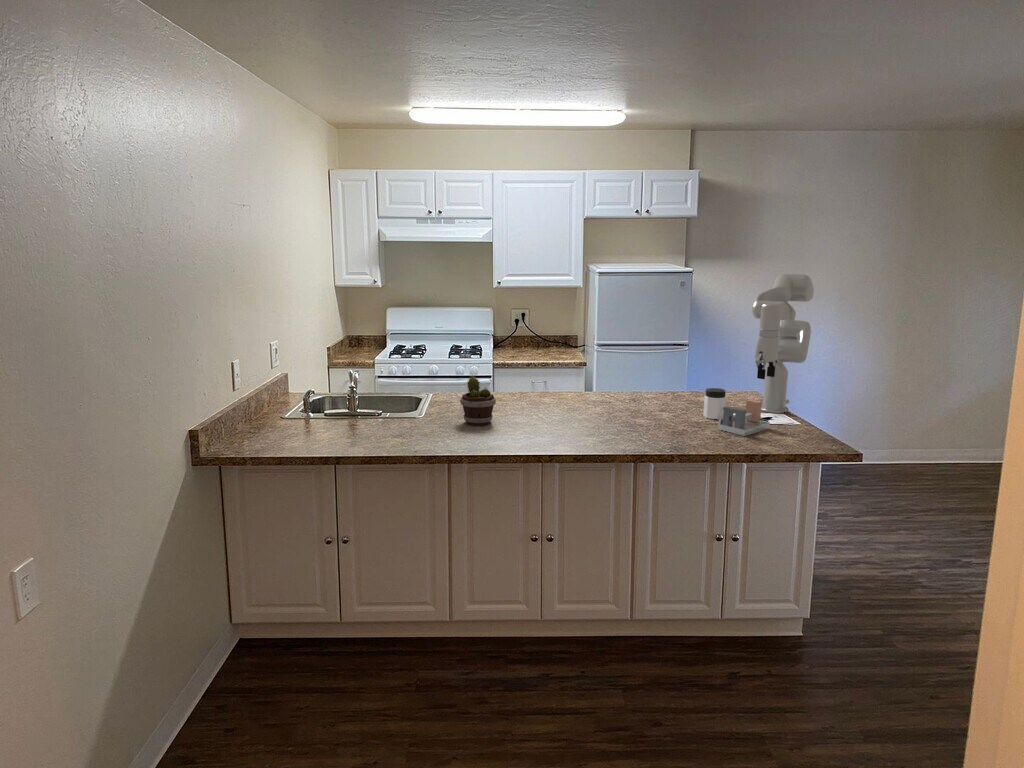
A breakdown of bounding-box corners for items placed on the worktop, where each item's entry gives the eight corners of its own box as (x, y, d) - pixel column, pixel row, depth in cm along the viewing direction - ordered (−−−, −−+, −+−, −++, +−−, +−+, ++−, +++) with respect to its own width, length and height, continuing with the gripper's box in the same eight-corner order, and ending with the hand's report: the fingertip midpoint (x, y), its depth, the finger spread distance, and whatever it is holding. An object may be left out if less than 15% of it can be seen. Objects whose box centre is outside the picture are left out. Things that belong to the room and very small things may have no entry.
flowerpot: (503, 424, 296) (503, 376, 292) (469, 429, 288) (469, 380, 284) (485, 416, 308) (485, 370, 304) (453, 421, 300) (453, 373, 296)
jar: (714, 420, 303) (716, 392, 301) (699, 416, 310) (701, 389, 307) (728, 418, 308) (730, 390, 305) (713, 414, 314) (715, 387, 312)
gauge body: (743, 422, 300) (744, 400, 298) (769, 428, 291) (771, 405, 289) (717, 429, 289) (719, 406, 287) (744, 436, 280) (746, 412, 278)
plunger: (750, 418, 297) (752, 399, 295) (768, 422, 291) (770, 402, 289) (729, 423, 287) (730, 404, 286) (747, 428, 281) (749, 408, 280)
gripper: (772, 331, 299) (769, 373, 303) (748, 334, 288) (745, 378, 292) (789, 333, 294) (785, 376, 297) (765, 336, 283) (762, 381, 286)
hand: (765, 377), depth 295 cm, fingers open, 6 cm apart
